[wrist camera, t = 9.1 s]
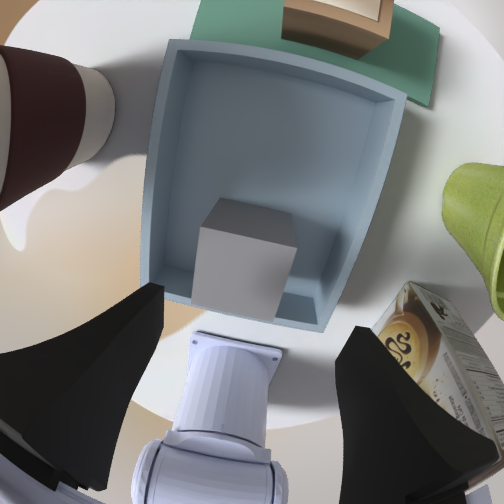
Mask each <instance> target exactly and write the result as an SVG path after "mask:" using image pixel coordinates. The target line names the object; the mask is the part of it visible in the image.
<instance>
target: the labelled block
mask: <svg viewBox="0 0 504 504" xmlns="http://www.w3.org/2000/svg"><path fill="white" fill-rule="evenodd" d="M393 5H394V0H285V3H284V7H283V20H282V32H281V39H283V40H288V41H293V42H297V43H301V44H305V45H309V46H313V47H317V48H320V49H324V50H327V51H330V52H334V53H337V54H340V55H343V56H346V57H349V58H352V59H355V60H358V59H359V58H361V57H362V56H364V55H365V54H367V53H368V52H370V51H371V50H373V49H374V48H376V47H377V46H379V45H380V44H382V43H383V42H385V41H387V40H388V39H389V34H390V28H391V21H392V13H393Z"/></svg>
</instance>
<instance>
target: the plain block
mask: <svg viewBox="0 0 504 504" xmlns="http://www.w3.org/2000/svg"><path fill="white" fill-rule="evenodd" d="M296 251H297V243H296V237H295V231H294V226H293V220H292V214H291V213H287V212H283V211H279V210H275V209H270V208H266V207H262V206H257V205H253V204H248V203H244V202H239V201H235V200H230V199H225V198H219V200H218V201H217V203H216V204H215V206H214V207H213V209H212V210H211V212H210V213H209V214H208V216H207V217H206V219H205V220H204V222H203V223H202V225H201V226H200V233H199V240H198V247H197V255H196V263H195V271H194V279H193V288H192V297H191V304H194V305H198V306H202V307H206V308H210V309H214V310H219V311H223V312H227V313H232V314H236V315H241V316H246V317H251V318H255V319H260V320H265V321H270V322H273V321H274V318H275V315H276V312H277V309H278V306H279V303H280V300H281V297H282V294H283V291H284V288H285V285H286V282H287V279H288V276H289V273H290V270H291V267H292V264H293V260H294V257H295V254H296Z"/></svg>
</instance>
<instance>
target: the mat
mask: <svg viewBox="0 0 504 504" xmlns="http://www.w3.org/2000/svg"><path fill="white" fill-rule="evenodd" d="M284 3H285V0H201V3H200V6H199V9H198V12H197V15H196V19H195V22H194V25H193V29H192V32H191V36H190V40H203V41H216V42H226V43H234V44H242V45H249V46H255V47H261V48H267V49H272V50H277V51H282V52H287V53H291V54H295V55H299V56H303V57H307V58H311V59H315V60H318V61H322V62H325V63H328V64H332V65H335V66H338V67H341V68H344V69H347V70H350V71H353V72H356V73H358V74H361V75H364V76H366V77H369V78H371V79H374V80H376V81H379V82H381V83H384V84H386V85H388V86H391V87H393V88H395V89H397V90H400V91H402V92H404V93H406V94H407V99H408V100H410V101H412V102H414V103H416V104H418V105H420V106H422V107H428V106H429V101H430V96H431V91H432V85H433V79H434V73H435V66H436V59H437V51H438V42H439V30H440V28H439V27H437V26H436V25H434V24H432V23H431V22H429V21H427V20H425V19H424V18H422V17H420V16H418V15H416V14H414V13H412V12H410V11H408V10H406V9H404V8H402V7H400V6H398V5H396V4H394V5H393V13H392V21H391V28H390V34H389V39H388V40H387V41H385V42H383V43H382V44H380V45H379V46H377V47H376V48H374V49H373V50H371V51H370V52H368V53H367V54H365V55H364V56H362V57H361V58H359V59H358V60H355V59H352V58H349V57H346V56H343V55H340V54H337V53H334V52H330V51H327V50H324V49H320V48H317V47H313V46H309V45H305V44H301V43H297V42H293V41H288V40H283V39H281V32H282V20H283V7H284Z"/></svg>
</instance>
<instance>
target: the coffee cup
mask: <svg viewBox="0 0 504 504" xmlns="http://www.w3.org/2000/svg"><path fill="white" fill-rule="evenodd" d="M114 117H115V98H114V94H113V90H112V87H111V85H110V84H109V82H108V80H107V79H106V78H105V77H104V76H103V75H102V74H101V73H99V72H98V71H96V70H94V69H91V68H87V67H83V66H80V65H76V64H72V63H71V62H69V61H68V60H66V59H64V58H62V57H58V56H54V55H50V54H46V53H41V52H37V51H32V50H26V49H21V48H15V47H9V46H2V45H0V211H2V210H3V209H5V208H6V207H8V206H10V205H11V204H13V203H14V202H16V201H18V200H19V199H21V198H22V197H24V196H26V195H28V194H29V193H31V192H33V191H34V190H36V189H38V188H40V187H42V186H43V185H45V184H47V183H49V182H51V181H53V180H54V179H56V178H57V177H58V176H60V175H61V174H62V173H63V172H64V171H65V170H68V169H70V168H72V167H74V166H76V165H78V164H81V163H83V162H85V161H87V160H89V159H90V158H92V157H93V156H94V155H95V154H96V153H97V152H98V151H99V150H100V149H101V148H102V146H103V145H104V143H105V142H106V140H107V138H108V136H109V134H110V132H111V129H112V126H113V122H114Z"/></svg>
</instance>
